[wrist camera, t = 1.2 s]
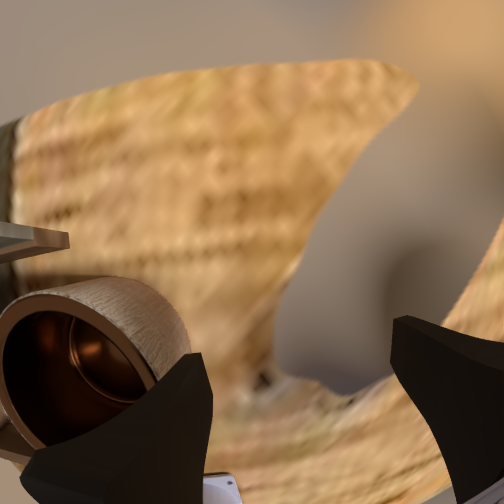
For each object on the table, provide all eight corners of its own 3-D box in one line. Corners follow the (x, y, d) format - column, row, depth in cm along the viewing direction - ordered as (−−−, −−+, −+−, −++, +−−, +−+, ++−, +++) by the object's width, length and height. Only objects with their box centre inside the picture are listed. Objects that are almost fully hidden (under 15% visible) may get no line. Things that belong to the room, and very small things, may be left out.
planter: (103, 421, 19) (58, 489, 10) (43, 305, 19) (-36, 326, 10) (218, 386, 20) (217, 465, 11) (155, 252, 20) (103, 248, 11)
